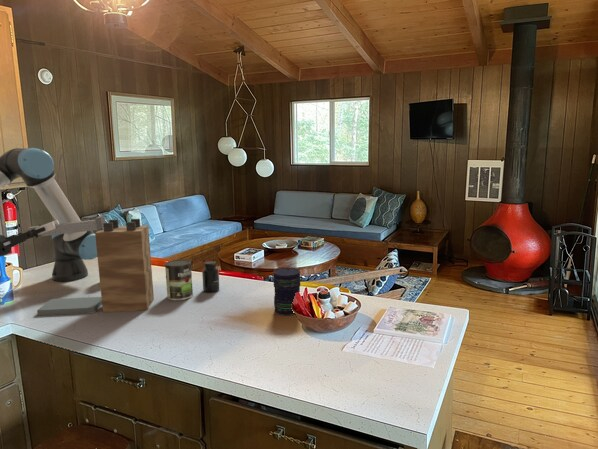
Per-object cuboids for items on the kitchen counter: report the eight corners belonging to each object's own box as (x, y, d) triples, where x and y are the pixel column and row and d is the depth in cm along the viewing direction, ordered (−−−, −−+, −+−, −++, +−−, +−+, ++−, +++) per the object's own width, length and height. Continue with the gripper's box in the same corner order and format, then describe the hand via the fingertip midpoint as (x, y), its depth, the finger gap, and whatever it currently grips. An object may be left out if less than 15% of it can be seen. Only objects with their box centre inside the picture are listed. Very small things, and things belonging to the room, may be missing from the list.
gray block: (51, 304, 180) (51, 299, 180) (104, 301, 182) (104, 296, 181) (37, 315, 168) (37, 310, 168) (94, 312, 170) (93, 307, 170)
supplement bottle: (217, 292, 190) (216, 264, 188) (201, 293, 190) (199, 264, 188) (221, 287, 197) (219, 260, 195) (205, 287, 197) (203, 260, 195)
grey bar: (34, 235, 172) (31, 223, 171) (106, 227, 175) (104, 215, 174) (28, 238, 167) (26, 225, 166) (102, 229, 170) (100, 217, 170)
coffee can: (198, 295, 188) (196, 261, 185) (178, 302, 179) (175, 267, 177) (182, 290, 194) (180, 258, 191) (161, 297, 186) (159, 263, 183)
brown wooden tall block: (112, 301, 182) (104, 219, 176) (153, 299, 184) (147, 217, 178) (102, 312, 170) (94, 224, 164) (147, 309, 172) (140, 223, 166)
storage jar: (297, 316, 163) (297, 275, 161) (271, 314, 165) (270, 274, 163) (303, 306, 173) (302, 268, 170) (277, 305, 175) (276, 267, 172)
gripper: (10, 251, 177) (68, 229, 179) (-12, 262, 161) (52, 237, 163) (1, 234, 176) (60, 211, 177) (-23, 243, 160) (42, 218, 161)
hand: (56, 224), depth 170 cm, fingers closed on grey bar, 3 cm apart
